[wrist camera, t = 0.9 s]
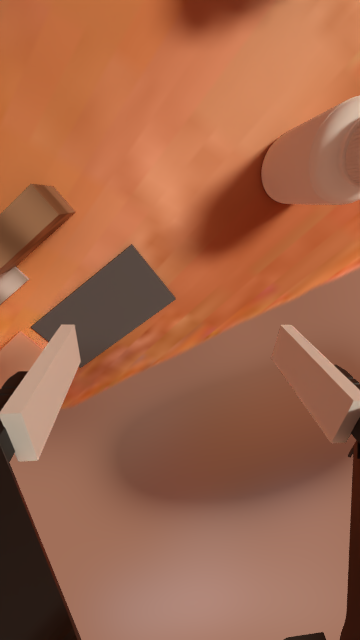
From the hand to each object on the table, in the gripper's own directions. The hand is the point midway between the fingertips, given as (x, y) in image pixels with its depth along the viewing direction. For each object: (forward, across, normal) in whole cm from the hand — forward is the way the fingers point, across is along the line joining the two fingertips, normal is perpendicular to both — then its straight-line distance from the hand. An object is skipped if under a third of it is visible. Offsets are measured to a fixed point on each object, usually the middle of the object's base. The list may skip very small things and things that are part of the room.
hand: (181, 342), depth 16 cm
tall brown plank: (+22, -20, +1) cm, 30 cm away
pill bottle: (+22, +15, +12) cm, 29 cm away
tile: (+21, -21, -15) cm, 33 cm away
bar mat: (+21, -9, -8) cm, 25 cm away
